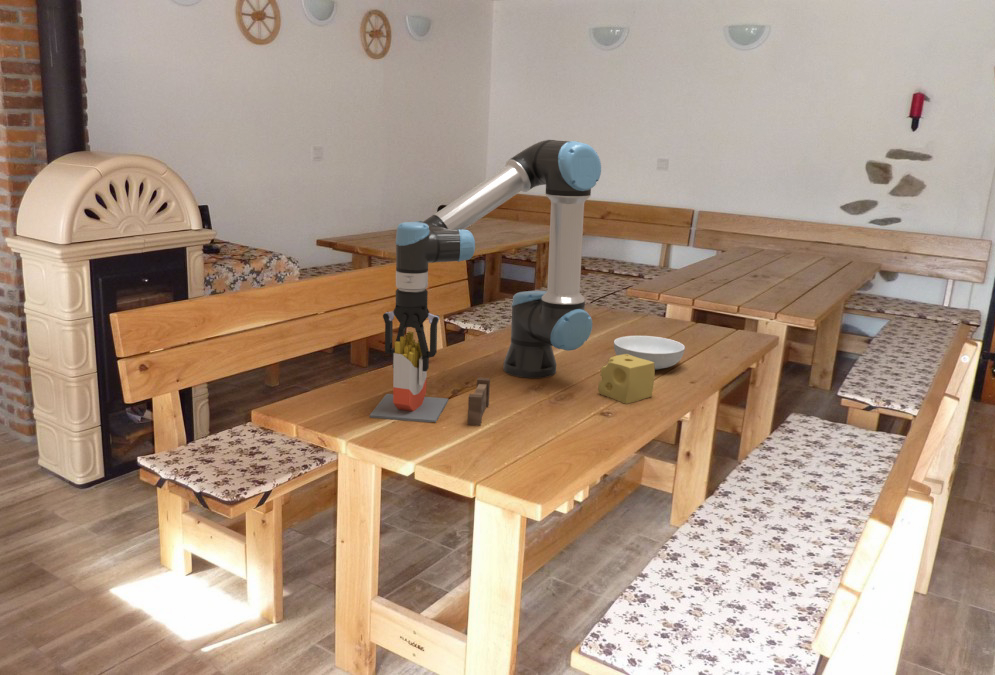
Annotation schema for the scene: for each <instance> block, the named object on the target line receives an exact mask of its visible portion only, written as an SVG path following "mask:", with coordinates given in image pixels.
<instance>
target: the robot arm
mask: <svg viewBox="0 0 995 675" xmlns="http://www.w3.org/2000/svg"><path fill="white" fill-rule="evenodd" d="M601 174H602V163H601V159H600V156H599V155H598V153H597V152H596V150H595V149H594V148H593V146H591V145H589V144H588V143H584V142H580V141H576V140H572V141H571V140H556V139H546V140H542V141H538V142H537V143H533V144H532V145H530V146H528V147H527V148H525V149H523V150H522V151H520V152H518V153H517V154H516V155H514V156H513V157H510V159H508V160H507V161H506V163H505V167H503V168H502V169H500V170H499V171H497V172H496V173H494V174H493V175H491V176H489V177H488V178H487V179H485V180H483V181H482V182H481V183H479V184H478V185H475V187H473V188H471V189H470V190H469V191H467V192H465V193H464V194H462V195H460V197H458V198H456V199H455V200H453V201H452V202H450V203H448V205H446V206H445V207H443V208H442V209H440V210H439V211H437V212H436V213H434V214H432V215H430V217H428V218H425V220H424V221H422V220H418V221H407V222H405V221H404V222H401V223H399V224H398V225H397V227H396V233H395V263H396V264H395V287H396V290H395V307H394V309H393V310H391V311H386V312H385V313H383V315H382V319H383V322H384V326H385V328H384V339H385V340H384V352H385V354H387V355H391V357H392V360H393V359H394V353H395V345H394V346H393V335H394V334H393V332H394V331H393V330H394V329H393V320H394V319H397V321H398V322H399V326H398V331H397V335H396V338H395V342H396V341H398V342H400V337H401V336H403V337H405V335H406V334H405V333H406V330H407V328H413V329H414V330H415V333H416V336H417V341H418V340H419V345H420V349H421V353H422V356H421V358H420V359H419V385H422V384H423V383H424V371H429V367H430V365H429V364H430V362H429V361H430V359H429V358H434V357H435V356H436V354H437V353H438V352H437V350H438V346H437V345H438V323H439V320H440V319H441V318H440V315H438V314H436V315H434V314H433V313H431V312H430V310H429V308H428V290H427V288H428V286H429V264H432V263H433V264H434V263H444V262H445V263H446V262H448V263H450V262H457V263H459V262H463V261H468V260H469V261H470V259H472V257H473V256H474V254H475V251H476V240H475V237H474V235H473V233H472V232H471V231H470V230H468V227H470V226H472V225H473V224H475V223H476V222H477V221H479V220H480V219H482V218H483V217H485V216H486V215H488V214H489V213H491V212H493V211H494V210H495V209H497V208H498V207H500V206H502V205H503V204H504V203H506V202H507V201H509V200H510V199H511V198H513V197H515V196H516V195H517V194H519V193H520V192H523V193H527V192H529V191H530V190H531V189H534V188H536V187H539V186H543V185H544V186H545V194H544V195H545V196H546V197H547V198H548V200H550V220H549V222H550V223H549V225H550V226H549V243H548V244H549V246H548V267H547V268H548V269H547V289H546V290H528V291H526V290H525V291H519V292H517V293H515V294H514V295H513V297H512V301H511V302H512V303H511V327H510V330H511V331H510V333H511V334H510V344H509V347H508V350H507V352H506V355H505V358H504V359H503V371H504V372H505V373H506V374H507V375H511V376H513V377H518V378H523V379H524V378H526V379H540V378H541V379H542V378H547V377H552V376H553V375H555V374H557V362H556V358H555V355H554V351H553V350H554V349H553V348H556V349H558V350H564V351H567V352H569V351H575V350H578V348H580V347H582V346H583V345H584V344H585V342H587V341H588V339H589V338H590V336H591V334H592V330H593V319H592V317H591V315H590V314H589V312H588V311H586V309H585V308H586V307H585V306H586V298H585V297H584V296H583V295H582V294H581V276H582V275H581V273H582V255H583V254H582V253H583V251H582V250H583V235H584V234H583V232H584V214H585V202H586V201H587V200H588V199H589V198H590V197H591V195H592V193H591V192H592V189H593V188H594V187H595V186H596V185H597V182H599V180H600V177H601ZM394 317H395V318H394ZM427 319H428V322H429V324H430V327H429V346H428V343H427V339H426V338H427V337H426V334H425V328H424V327H425V326H424V322H425V321H426V320H427Z"/></svg>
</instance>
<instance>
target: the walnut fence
mask: <svg viewBox="0 0 995 675" xmlns="http://www.w3.org/2000/svg"><path fill="white" fill-rule="evenodd" d="M490 387H491V378H490V377H480V376H478V377H477V379H476V389H475V391H474V393H470V394H469V395H468V401H467V403H468V405H467V406H468V407H467V425H468V426H476V425H478V426H479V427H480V426H482V421H483V418H482V417H483V416H484V413H485V411H486V408H489V406H490V389H491V388H490ZM484 410H485V411H484Z"/></svg>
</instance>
